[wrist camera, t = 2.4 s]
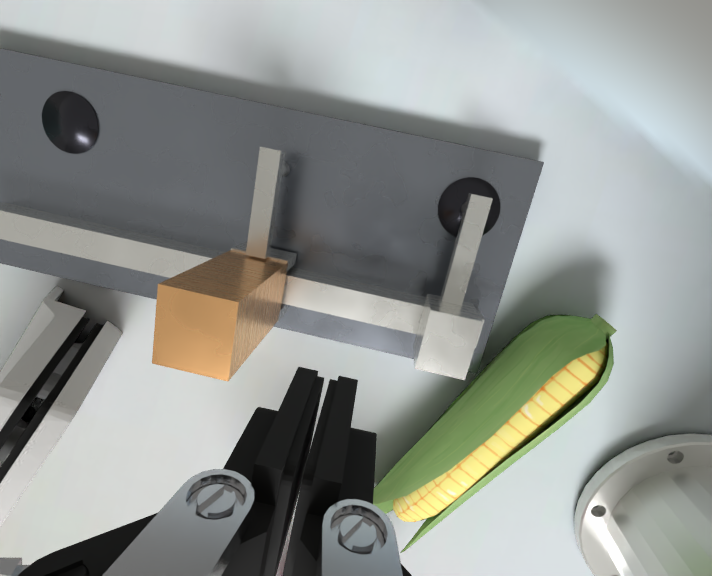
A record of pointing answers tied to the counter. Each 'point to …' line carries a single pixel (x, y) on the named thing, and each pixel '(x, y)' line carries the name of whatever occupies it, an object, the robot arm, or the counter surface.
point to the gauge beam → (293, 279)
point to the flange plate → (252, 188)
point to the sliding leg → (227, 292)
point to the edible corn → (500, 417)
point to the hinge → (45, 389)
